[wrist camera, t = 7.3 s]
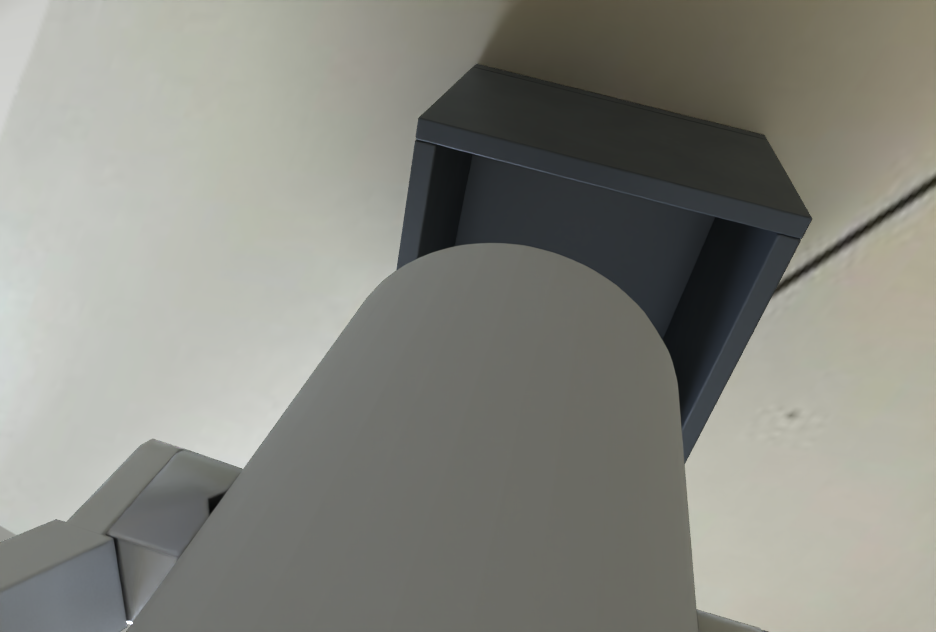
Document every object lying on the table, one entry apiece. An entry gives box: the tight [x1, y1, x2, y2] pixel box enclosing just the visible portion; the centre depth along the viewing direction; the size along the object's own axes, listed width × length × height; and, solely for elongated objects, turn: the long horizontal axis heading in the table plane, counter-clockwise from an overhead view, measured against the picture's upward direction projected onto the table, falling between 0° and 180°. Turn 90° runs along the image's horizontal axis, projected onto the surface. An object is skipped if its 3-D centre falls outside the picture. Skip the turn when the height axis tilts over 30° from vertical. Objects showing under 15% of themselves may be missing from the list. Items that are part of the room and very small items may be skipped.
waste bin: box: [396, 64, 812, 464], centre depth 30 cm, size 14×14×10 cm
